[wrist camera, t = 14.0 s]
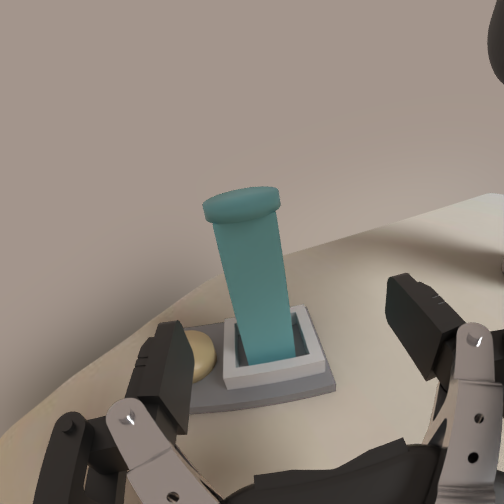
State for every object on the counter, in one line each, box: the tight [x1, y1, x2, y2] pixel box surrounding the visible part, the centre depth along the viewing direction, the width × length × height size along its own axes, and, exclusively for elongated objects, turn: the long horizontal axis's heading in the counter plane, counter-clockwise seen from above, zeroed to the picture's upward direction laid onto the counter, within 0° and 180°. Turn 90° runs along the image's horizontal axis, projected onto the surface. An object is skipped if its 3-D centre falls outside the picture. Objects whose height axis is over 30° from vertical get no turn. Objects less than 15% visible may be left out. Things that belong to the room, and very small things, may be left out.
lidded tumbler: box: [203, 187, 296, 366], centre depth 22 cm, size 5×5×14 cm
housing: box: [183, 304, 336, 414], centre depth 24 cm, size 16×11×4 cm
